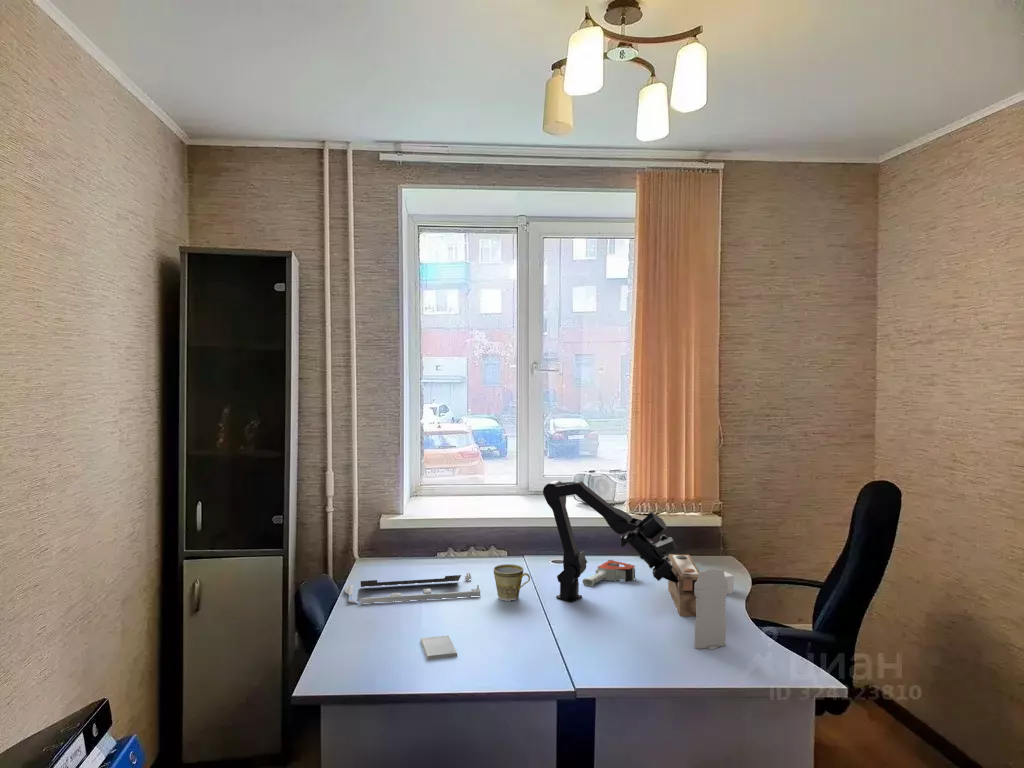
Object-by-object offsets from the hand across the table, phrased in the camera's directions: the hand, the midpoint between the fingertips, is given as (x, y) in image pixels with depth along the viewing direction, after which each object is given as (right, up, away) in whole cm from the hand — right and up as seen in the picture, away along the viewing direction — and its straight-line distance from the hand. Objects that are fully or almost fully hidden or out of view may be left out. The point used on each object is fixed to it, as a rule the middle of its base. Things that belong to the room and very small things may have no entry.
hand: (677, 581), depth 219 cm
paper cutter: (-87, -9, +16) cm, 89 cm away
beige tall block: (+2, -10, -27) cm, 29 cm away
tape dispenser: (-18, -8, +31) cm, 37 cm away
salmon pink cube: (+2, -2, 0) cm, 3 cm away
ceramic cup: (-53, -9, +10) cm, 54 cm away
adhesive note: (+19, -9, +19) cm, 28 cm away
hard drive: (-73, -11, -30) cm, 80 cm away
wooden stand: (+4, -9, +7) cm, 12 cm away
